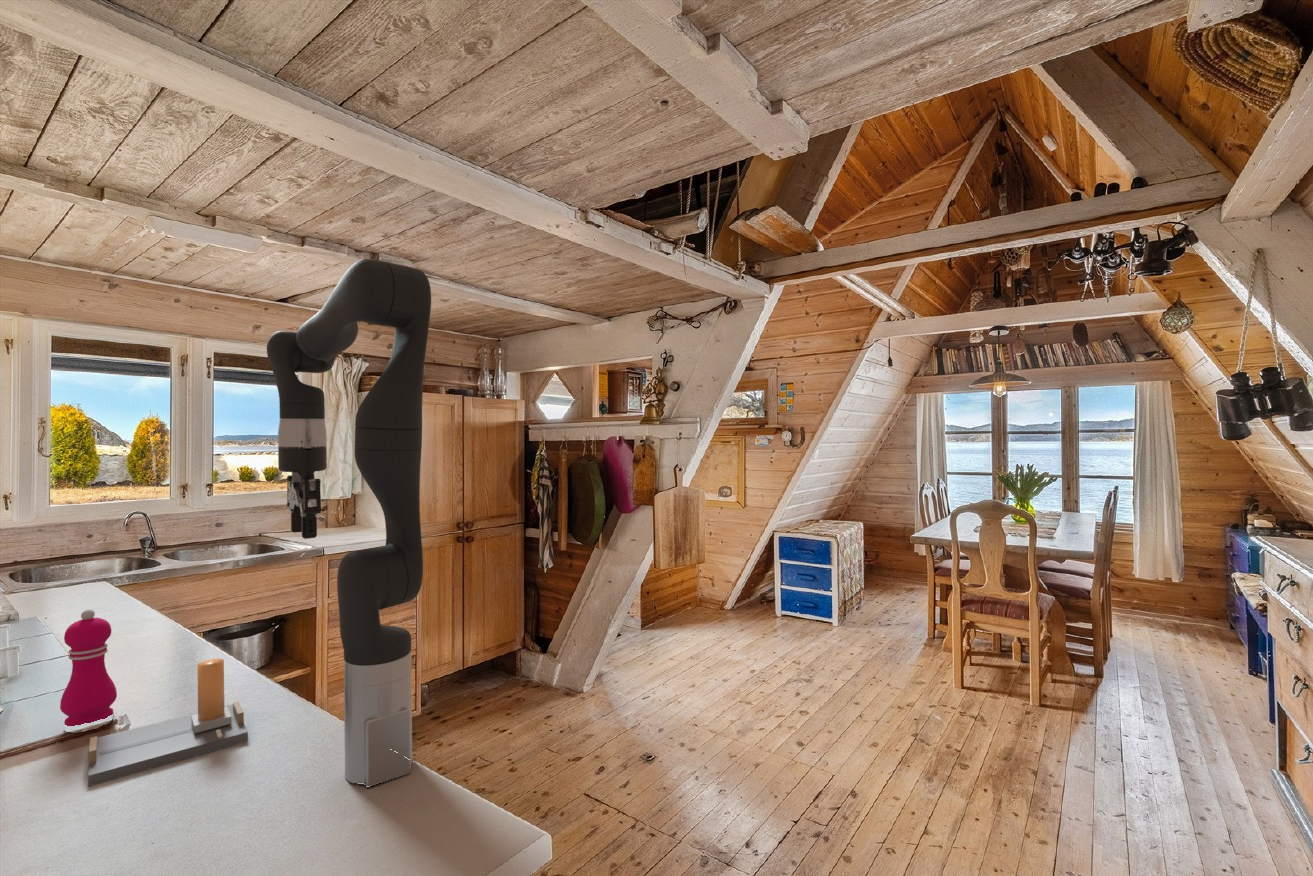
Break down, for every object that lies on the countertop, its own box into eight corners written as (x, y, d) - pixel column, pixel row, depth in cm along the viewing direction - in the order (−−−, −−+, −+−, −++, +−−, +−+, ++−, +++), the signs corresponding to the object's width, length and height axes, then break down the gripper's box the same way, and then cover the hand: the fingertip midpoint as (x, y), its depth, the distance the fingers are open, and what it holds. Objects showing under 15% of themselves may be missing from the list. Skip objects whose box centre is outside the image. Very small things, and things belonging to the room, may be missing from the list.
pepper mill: (82, 737, 102) (81, 617, 102) (48, 733, 104) (47, 614, 104) (128, 717, 110) (126, 605, 109) (95, 713, 111) (94, 602, 111)
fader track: (247, 741, 101) (247, 721, 101) (88, 786, 88) (88, 763, 88) (235, 712, 111) (234, 693, 111) (91, 748, 99) (90, 728, 99)
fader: (231, 723, 103) (230, 662, 103) (194, 733, 100) (193, 670, 100) (227, 713, 107) (226, 654, 107) (191, 722, 104) (190, 662, 103)
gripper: (270, 444, 113) (271, 532, 113) (287, 445, 102) (288, 543, 103) (316, 443, 118) (317, 528, 118) (336, 444, 107) (337, 537, 108)
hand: (303, 535), depth 111 cm, fingers open, 8 cm apart
